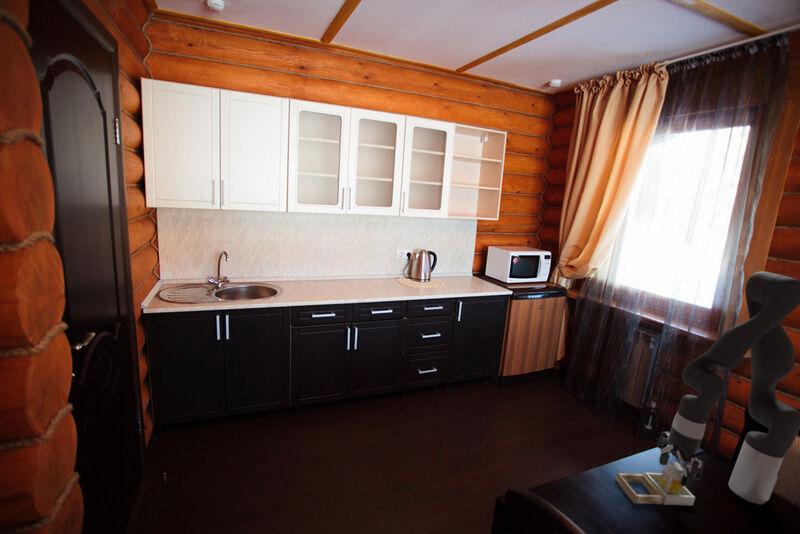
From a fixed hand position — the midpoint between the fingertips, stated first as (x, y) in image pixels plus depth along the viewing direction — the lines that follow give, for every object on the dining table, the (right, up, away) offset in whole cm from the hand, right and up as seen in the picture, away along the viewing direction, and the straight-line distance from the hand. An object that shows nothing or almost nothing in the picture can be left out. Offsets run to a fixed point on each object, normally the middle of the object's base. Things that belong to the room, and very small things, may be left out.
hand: (672, 474), depth 118 cm
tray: (-1, -7, +2) cm, 7 cm away
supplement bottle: (-1, -6, +1) cm, 6 cm away
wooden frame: (-10, -6, +1) cm, 12 cm away
